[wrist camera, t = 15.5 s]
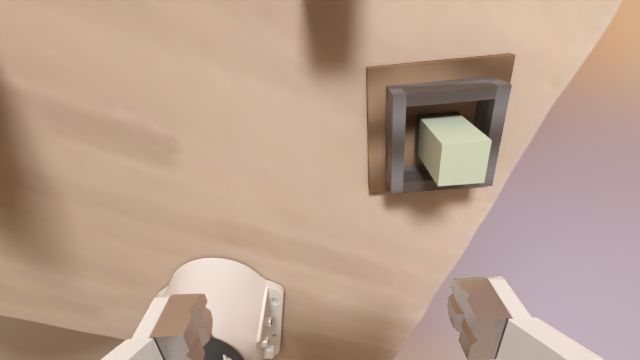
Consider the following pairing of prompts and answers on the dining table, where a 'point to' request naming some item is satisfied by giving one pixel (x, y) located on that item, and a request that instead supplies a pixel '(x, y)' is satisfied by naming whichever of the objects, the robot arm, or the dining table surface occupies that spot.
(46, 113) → the dining table surface
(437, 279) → the dining table surface
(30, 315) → the dining table surface
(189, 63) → the dining table surface
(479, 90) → the socket board
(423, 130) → the sage peg
